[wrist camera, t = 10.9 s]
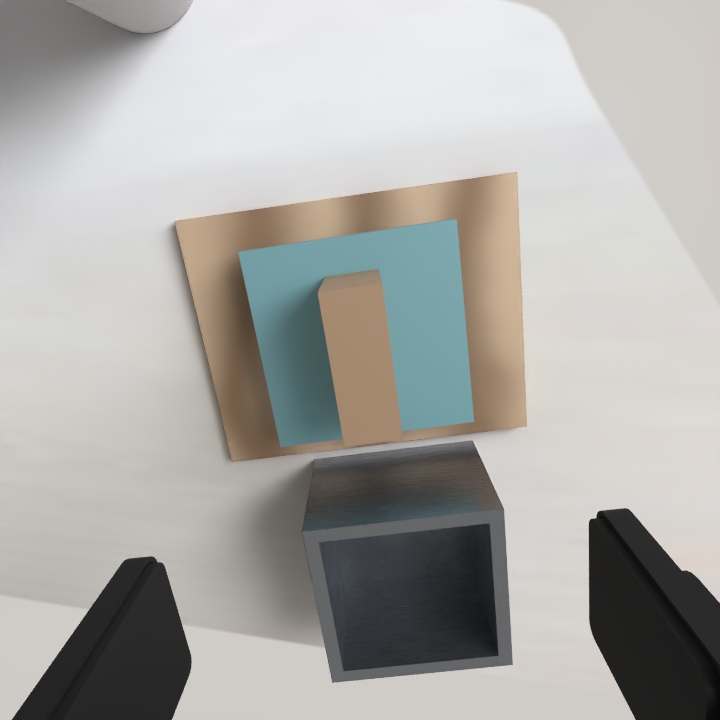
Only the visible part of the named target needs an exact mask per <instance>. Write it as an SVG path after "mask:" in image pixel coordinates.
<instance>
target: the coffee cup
mask: <svg viewBox="0 0 720 720" xmlns="http://www.w3.org/2000/svg"><path fill="white" fill-rule="evenodd" d="M66 1H68V2H70V3H72V4H74V5H76V6H78V7H80V8H82V9H84V10H86V11H88V12H90V13H92V14H94V15H96V16H98V17H100V18H102V19H104V20H106V21H108V22H110V23H112V24H114V25H116V26H118V27H120V28H123V29H125V30H128V31H131V32H136V33H154V32H159V31H162V30H164V29H167V28H168V27H170V26H172V25H173V24H175V23H176V22H177V21H178V20H180V19H181V18H182V16H183V15H184V14H185V13H186V12H187V10H188V9H189V7H190V5H191V3H192V1H193V0H66Z"/></svg>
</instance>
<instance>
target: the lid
mask: <svg viewBox="0 0 720 720" xmlns="http://www.w3.org/2000/svg"><path fill="white" fill-rule="evenodd" d="M238 254H239V258H240V263H241V267H242V272H243V277H244V281H245V286H246V290H247V295H248V300H249V304H250V309H251V313H252V318H253V323H254V327H255V332H256V336H257V341H258V346H259V350H260V355H261V359H262V364H263V369H264V373H265V378H266V382H267V387H268V392H269V396H270V401H271V405H272V410H273V415H274V419H275V424H276V428H277V433H278V437H279V442H280V447H287V446H294V445H302V444H309V443H317V442H325V441H332V440H340V439H343V441H344V447H349V446H357V445H365V444H372V443H380V442H387V441H395V440H403V435H402V431H408V430H416V429H423V428H431V427H438V426H446V425H454V424H461V423H469V422H474V414H473V402H472V391H471V379H470V367H469V356H468V344H467V332H466V321H465V309H464V297H463V285H462V274H461V262H460V250H459V239H458V227H457V219H448V220H441V221H435V222H428V223H422V224H415V225H408V226H402V227H395V228H389V229H382V230H375V231H369V232H362V233H356V234H349V235H342V236H336V237H329V238H323V239H316V240H310V241H303V242H296V243H290V244H283V245H277V246H270V247H263V248H257V249H250V250H244V251H240V252H238Z"/></svg>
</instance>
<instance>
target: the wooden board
mask: <svg viewBox="0 0 720 720" xmlns="http://www.w3.org/2000/svg"><path fill="white" fill-rule="evenodd" d="M448 219H457V227H458V239H459V250H460V262H461V274H462V285H463V297H464V309H465V321H466V332H467V344H468V356H469V367H470V379H471V391H472V402H473V414H474V422H469V423H461V424H454V425H446V426H438V427H431V428H423V429H416V430H408V431H402V435H403V440H395V441H387V442H380V443H372V444H365V445H357V446H349V447H344V441H343V439H340V440H332V441H325V442H317V443H309V444H302V445H294V446H287V447H280V442H279V437H278V433H277V428H276V424H275V419H274V415H273V410H272V405H271V401H270V396H269V392H268V387H267V382H266V378H265V373H264V369H263V364H262V359H261V355H260V350H259V346H258V341H257V336H256V332H255V327H254V323H253V318H252V313H251V309H250V304H249V300H248V295H247V290H246V286H245V281H244V277H243V272H242V267H241V263H240V258H239V254H238V252H240V251H244V250H250V249H257V248H263V247H270V246H277V245H283V244H290V243H296V242H303V241H310V240H316V239H323V238H329V237H336V236H342V235H349V234H356V233H362V232H369V231H375V230H382V229H389V228H395V227H402V226H408V225H415V224H422V223H428V222H435V221H441V220H448ZM175 225H176V230H177V234H178V238H179V242H180V246H181V250H182V255H183V259H184V263H185V267H186V271H187V275H188V280H189V284H190V288H191V292H192V296H193V300H194V305H195V309H196V313H197V317H198V321H199V325H200V330H201V334H202V338H203V342H204V346H205V350H206V355H207V359H208V363H209V367H210V371H211V375H212V380H213V384H214V388H215V392H216V396H217V400H218V405H219V409H220V413H221V417H222V421H223V425H224V430H225V434H226V438H227V442H228V446H229V451H230V455H231V459H232V462H235V461H244V460H252V459H260V458H268V457H277V456H285V455H293V454H302V453H310V452H318V451H327V450H335V449H343V448H352V447H360V446H368V445H377V444H385V443H393V442H402V441H410V440H418V439H426V438H435V437H443V436H451V435H460V434H468V433H476V432H485V431H493V430H501V429H510V428H518V427H526V426H527V418H526V392H525V366H524V339H523V313H522V287H521V261H520V234H519V208H518V182H517V172H514V173H507V174H500V175H493V176H486V177H479V178H472V179H465V180H458V181H451V182H444V183H437V184H430V185H423V186H416V187H409V188H402V189H395V190H388V191H381V192H374V193H367V194H360V195H353V196H346V197H339V198H332V199H325V200H318V201H311V202H304V203H298V204H291V205H284V206H277V207H270V208H263V209H256V210H249V211H242V212H235V213H228V214H221V215H214V216H207V217H200V218H193V219H186V220H179V221H175Z"/></svg>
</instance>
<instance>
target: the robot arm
mask: <svg viewBox="0 0 720 720" xmlns="http://www.w3.org/2000/svg"><path fill="white" fill-rule="evenodd" d="M589 620H590V627H591V631H592V634H593V637H594V639H595V641H596V643H597V645H598V647H599V649H600V651H601V653H602V655H603V657H604V659H605V661H606V663H607V665H608V667H609V669H610V670H611V672H612V674H613V676H614V678H615V680H616V682H617V684H618V686H619V688H620V690H621V692H622V694H623V696H624V698H625V700H626V701H627V703H628V705H629V707H630V709H631V711H632V713H633V715H634V717H635V719H636V720H720V603H719V602H718V601H717V600H716V598H715V597H714V596H713V595H712V594H711V593H710V592H709V591H708V589H707V588H706V587H705V586H704V585H703V584H702V583H701V581H700V580H699V579H698V578H697V577H696V576H695V575H693V574H692V573H691V572H688V571H681V569H680V568H679V567H678V566H677V565H676V564H675V562H674V561H673V560H672V559H671V558H670V557H669V555H668V554H667V553H666V552H665V551H664V550H663V548H662V547H661V546H660V545H659V544H658V542H657V541H656V540H655V539H654V538H653V537H652V535H651V534H650V533H649V532H648V531H647V530H646V528H645V527H644V526H643V525H642V524H641V523H640V521H639V520H638V519H637V518H636V517H635V516H634V514H633V513H632V512H631V511H630V510H629V509H626V508H624V509H614V510H604V511H599V512H598V513H597V518H596V519H591V520H590V521H589ZM190 670H191V654H190V650H189V647H188V644H187V640H186V637H185V633H184V630H183V627H182V623H181V620H180V617H179V613H178V610H177V606H176V603H175V600H174V596H173V593H172V589H171V586H170V583H169V579H168V576H167V573H166V569H165V566H164V564H163V563H160V562H159V563H158V562H157V560H156V559H155V558H154V557H141V558H131V559H127V560H125V561H124V562H123V563H122V564H121V566H120V567H119V568H118V570H117V571H116V573H115V574H114V576H113V577H112V578H111V580H110V581H109V583H108V584H107V585H106V587H105V588H104V590H103V591H102V593H101V594H100V595H99V597H98V598H97V600H96V601H95V602H94V604H93V605H92V607H91V608H90V610H89V611H88V613H87V614H86V616H85V617H84V618H83V620H82V621H81V622H80V624H79V625H78V627H77V628H76V629H75V631H74V632H73V634H72V635H71V637H70V638H69V639H68V641H67V642H66V644H65V645H64V647H63V648H62V650H61V651H60V652H59V654H58V655H57V657H56V658H55V659H54V661H53V662H52V664H51V665H50V666H49V668H48V669H47V671H46V672H45V674H44V675H43V676H42V678H41V679H40V681H39V682H38V684H37V685H36V686H35V688H34V689H33V691H32V692H31V693H30V695H29V696H28V698H27V699H26V700H25V702H24V703H23V705H22V706H21V708H20V709H19V710H18V712H17V713H16V715H15V716H14V718H13V719H12V720H172V718H173V715H174V713H175V710H176V707H177V705H178V702H179V700H180V697H181V695H182V692H183V690H184V687H185V684H186V682H187V679H188V677H189V674H190Z"/></svg>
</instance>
